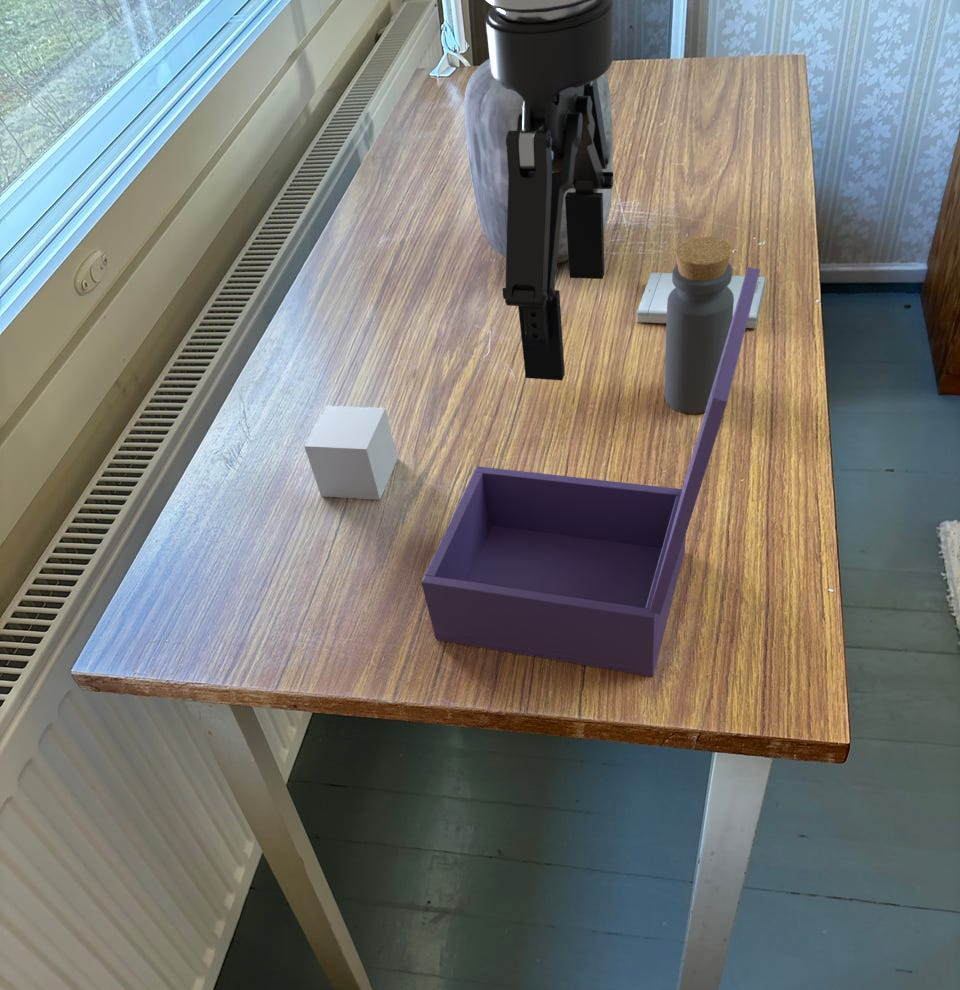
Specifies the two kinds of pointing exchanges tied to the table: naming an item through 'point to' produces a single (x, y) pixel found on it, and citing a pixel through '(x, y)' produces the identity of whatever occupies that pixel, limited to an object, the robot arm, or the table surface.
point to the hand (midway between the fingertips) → (567, 323)
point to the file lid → (706, 437)
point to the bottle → (697, 322)
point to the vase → (486, 135)
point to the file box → (555, 569)
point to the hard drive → (662, 285)
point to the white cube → (352, 452)
